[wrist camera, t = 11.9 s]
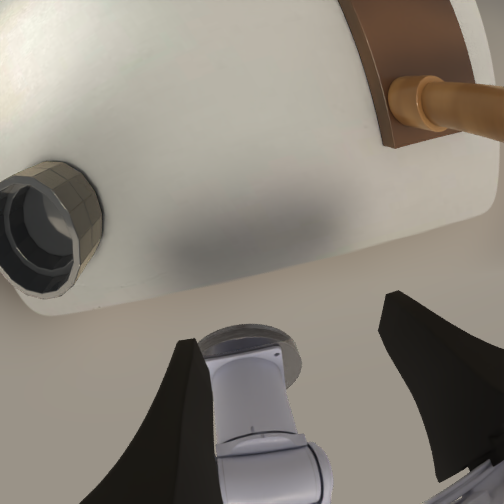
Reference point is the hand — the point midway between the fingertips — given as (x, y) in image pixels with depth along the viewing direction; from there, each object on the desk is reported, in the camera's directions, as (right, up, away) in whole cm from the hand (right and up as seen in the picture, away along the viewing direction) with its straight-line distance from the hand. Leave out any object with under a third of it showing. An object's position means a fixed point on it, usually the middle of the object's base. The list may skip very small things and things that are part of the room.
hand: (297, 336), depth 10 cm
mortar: (-15, +6, +6) cm, 18 cm away
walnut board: (+6, +29, -2) cm, 30 cm away
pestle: (+9, +13, +5) cm, 17 cm away
